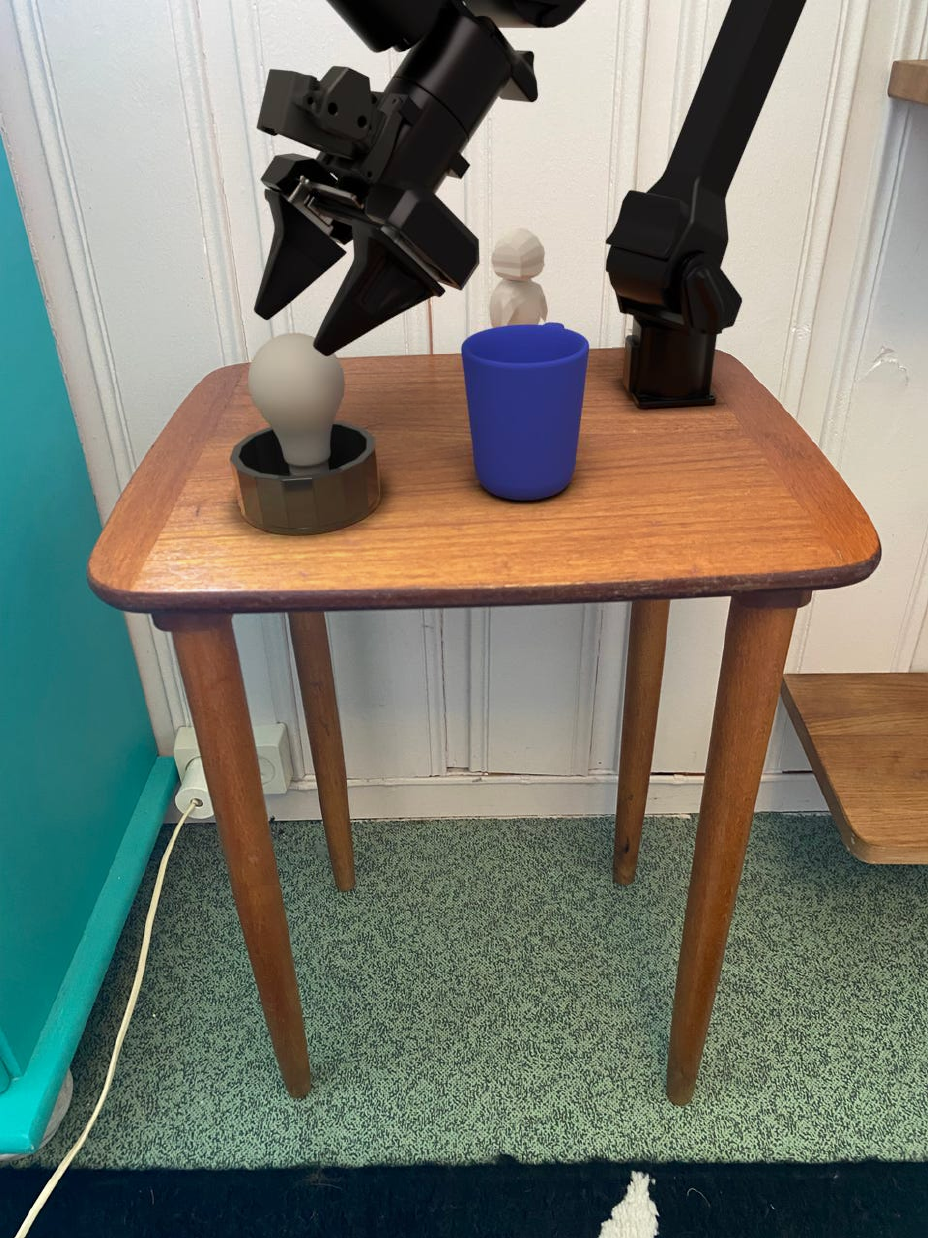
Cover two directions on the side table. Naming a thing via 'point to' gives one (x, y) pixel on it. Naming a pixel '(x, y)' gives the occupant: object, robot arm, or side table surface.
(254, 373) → the lightbulb
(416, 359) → the side table surface
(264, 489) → the bowl
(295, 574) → the side table surface
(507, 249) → the figurine
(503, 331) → the mug
